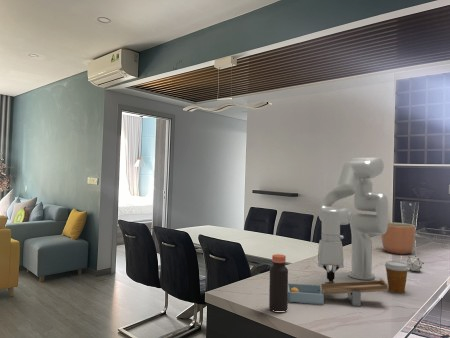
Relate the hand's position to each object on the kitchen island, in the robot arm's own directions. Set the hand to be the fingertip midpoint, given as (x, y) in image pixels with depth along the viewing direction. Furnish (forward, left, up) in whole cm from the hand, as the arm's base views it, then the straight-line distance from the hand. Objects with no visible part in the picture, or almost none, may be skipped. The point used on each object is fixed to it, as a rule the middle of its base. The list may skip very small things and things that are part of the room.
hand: (330, 280), depth 145 cm
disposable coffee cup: (-10, +30, -6) cm, 32 cm away
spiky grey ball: (-46, +51, -6) cm, 69 cm away
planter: (-95, +59, -6) cm, 112 cm away
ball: (+8, -16, -3) cm, 18 cm away
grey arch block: (+8, +8, -6) cm, 12 cm away
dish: (+8, -12, -6) cm, 15 cm away
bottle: (+22, -22, -6) cm, 32 cm away
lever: (+5, +8, -2) cm, 9 cm away
